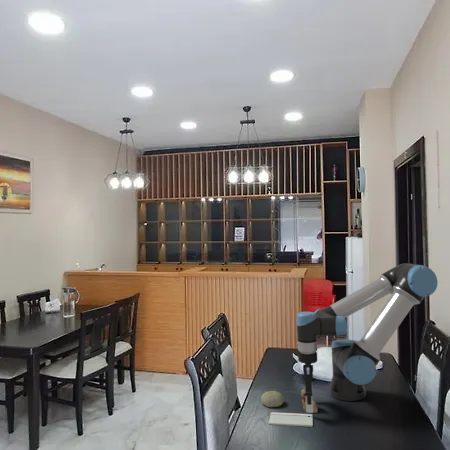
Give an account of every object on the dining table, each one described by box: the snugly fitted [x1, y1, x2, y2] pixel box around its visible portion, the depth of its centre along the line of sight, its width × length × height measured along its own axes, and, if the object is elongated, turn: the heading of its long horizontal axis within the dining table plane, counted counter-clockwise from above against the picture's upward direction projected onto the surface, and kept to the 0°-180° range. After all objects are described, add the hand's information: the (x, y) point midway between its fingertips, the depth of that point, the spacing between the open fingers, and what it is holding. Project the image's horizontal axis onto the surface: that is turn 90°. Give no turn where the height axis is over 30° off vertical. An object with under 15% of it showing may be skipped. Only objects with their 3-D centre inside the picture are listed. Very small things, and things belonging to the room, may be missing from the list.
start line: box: [270, 411, 313, 417], centre depth 161 cm, size 16×2×1 cm, turn 79°
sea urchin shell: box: [260, 390, 285, 408], centre depth 172 cm, size 9×8×8 cm
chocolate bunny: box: [300, 388, 319, 414], centre depth 166 cm, size 6×8×10 cm
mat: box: [268, 414, 314, 428], centre depth 156 cm, size 16×7×1 cm, turn 79°
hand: (309, 404), depth 166 cm, fingers open, 13 cm apart
